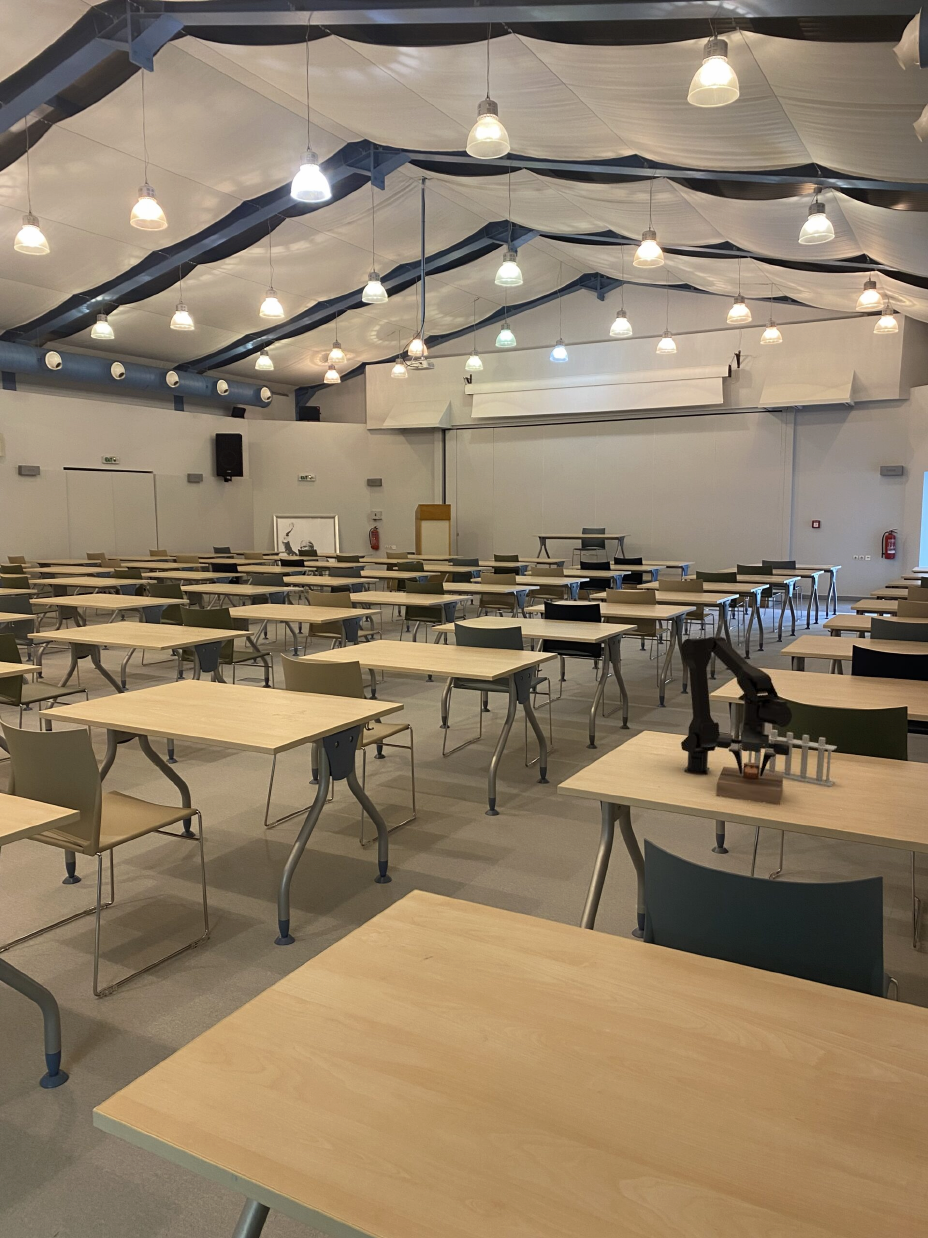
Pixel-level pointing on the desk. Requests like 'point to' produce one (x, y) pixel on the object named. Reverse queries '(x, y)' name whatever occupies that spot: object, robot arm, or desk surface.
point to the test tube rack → (804, 758)
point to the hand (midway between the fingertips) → (751, 775)
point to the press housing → (750, 786)
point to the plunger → (751, 770)
